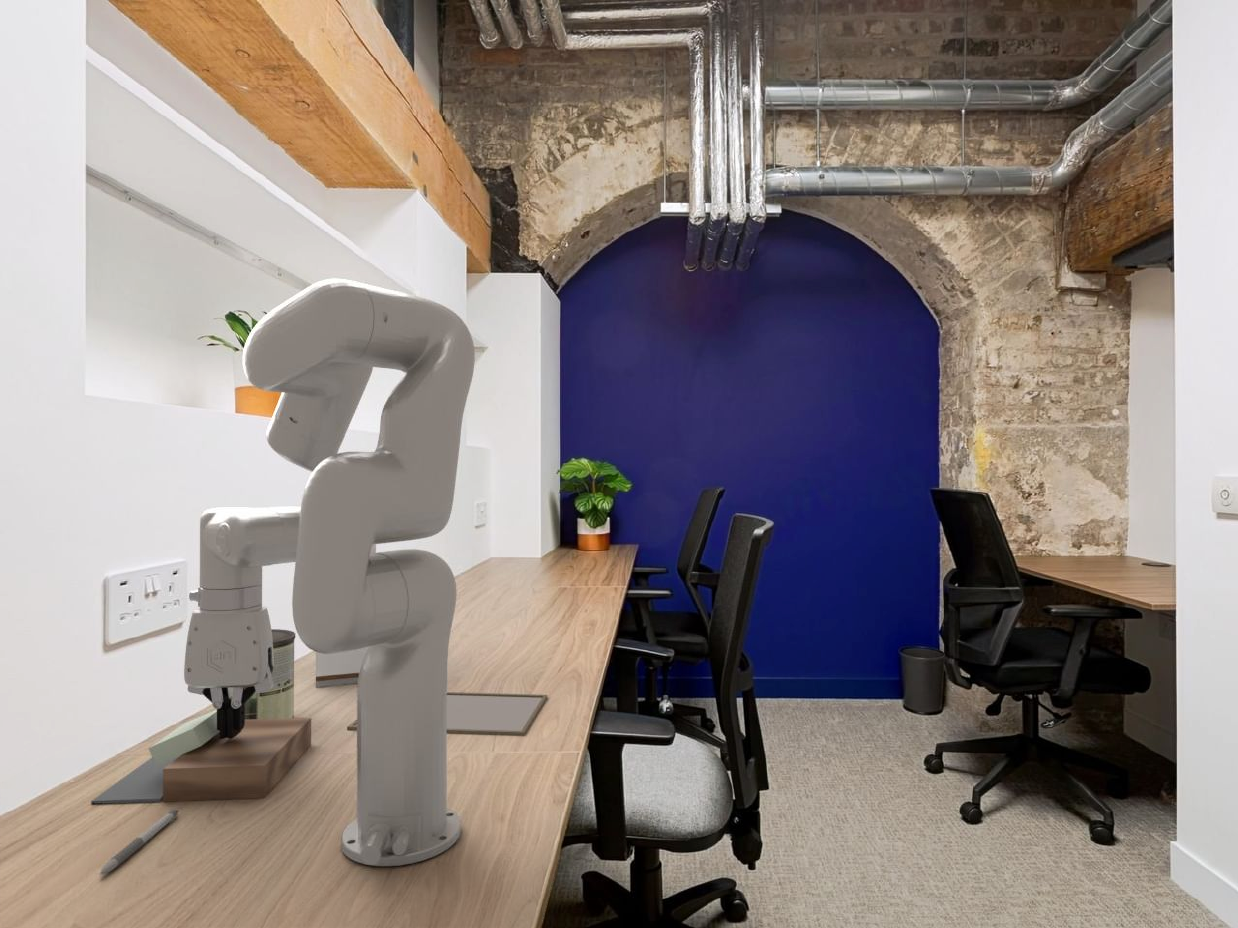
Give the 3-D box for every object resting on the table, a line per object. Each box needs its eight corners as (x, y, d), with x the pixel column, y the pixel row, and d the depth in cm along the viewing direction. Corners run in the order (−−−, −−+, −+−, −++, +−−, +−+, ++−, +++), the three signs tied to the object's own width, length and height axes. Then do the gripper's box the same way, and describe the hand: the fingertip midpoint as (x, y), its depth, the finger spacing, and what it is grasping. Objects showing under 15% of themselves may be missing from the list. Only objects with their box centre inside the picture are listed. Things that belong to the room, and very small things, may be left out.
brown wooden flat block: (264, 797, 93) (264, 765, 93) (162, 801, 92) (163, 768, 92) (311, 744, 111) (311, 717, 111) (226, 747, 110) (226, 719, 110)
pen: (181, 817, 89) (181, 805, 89) (106, 882, 75) (105, 868, 75) (172, 818, 89) (172, 806, 89) (95, 882, 75) (95, 868, 75)
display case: (375, 681, 144) (376, 498, 145) (315, 687, 140) (316, 499, 141) (371, 667, 155) (372, 496, 155) (316, 672, 151) (316, 497, 151)
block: (201, 746, 97) (193, 728, 97) (156, 765, 97) (148, 747, 97) (231, 722, 106) (224, 705, 106) (190, 740, 106) (183, 723, 106)
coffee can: (219, 739, 114) (219, 645, 114) (228, 718, 123) (228, 631, 123) (293, 730, 117) (293, 640, 117) (296, 711, 127) (296, 627, 127)
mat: (160, 801, 92) (160, 798, 92) (91, 804, 92) (91, 800, 92) (224, 747, 110) (224, 744, 110) (166, 749, 110) (166, 746, 110)
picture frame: (347, 732, 118) (523, 738, 115) (347, 726, 118) (523, 732, 115) (394, 696, 137) (547, 700, 134) (394, 690, 137) (547, 694, 134)
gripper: (158, 604, 98) (158, 747, 97) (278, 603, 99) (277, 743, 99) (187, 594, 105) (186, 727, 105) (298, 593, 106) (297, 724, 106)
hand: (230, 734), depth 102 cm, fingers closed
